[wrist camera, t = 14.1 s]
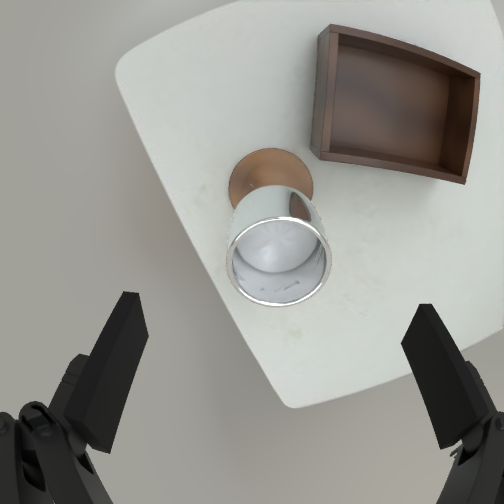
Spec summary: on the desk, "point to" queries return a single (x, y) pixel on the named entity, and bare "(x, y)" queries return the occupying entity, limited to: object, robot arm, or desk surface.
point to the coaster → (268, 158)
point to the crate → (392, 105)
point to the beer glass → (276, 241)
